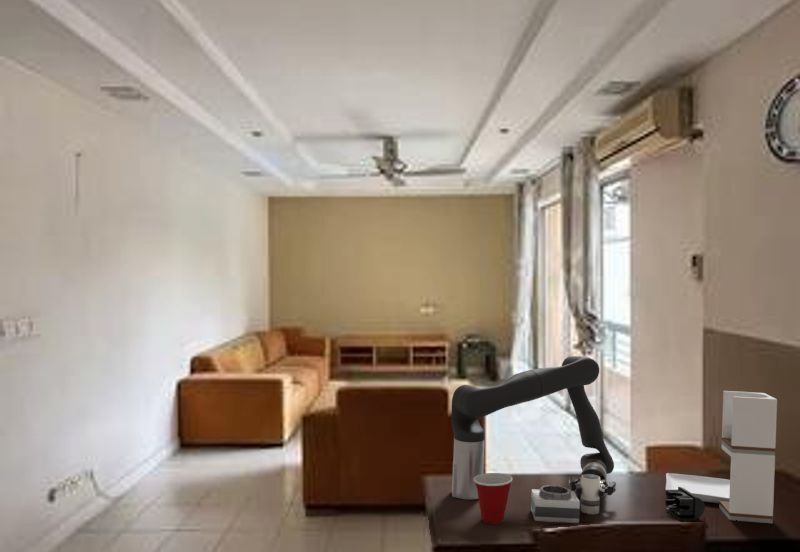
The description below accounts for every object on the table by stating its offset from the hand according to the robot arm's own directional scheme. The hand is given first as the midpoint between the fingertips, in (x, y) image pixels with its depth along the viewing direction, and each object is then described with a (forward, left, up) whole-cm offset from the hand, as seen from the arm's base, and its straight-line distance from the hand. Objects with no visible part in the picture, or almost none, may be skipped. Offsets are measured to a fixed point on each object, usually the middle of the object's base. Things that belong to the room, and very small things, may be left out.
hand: (589, 492), depth 206 cm
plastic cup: (-28, -10, -6) cm, 31 cm away
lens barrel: (+1, +2, -6) cm, 7 cm away
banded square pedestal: (-10, -4, -6) cm, 12 cm away
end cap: (+28, +3, -6) cm, 29 cm away
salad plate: (+40, +25, -7) cm, 47 cm away
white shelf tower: (+46, +6, -6) cm, 46 cm away
